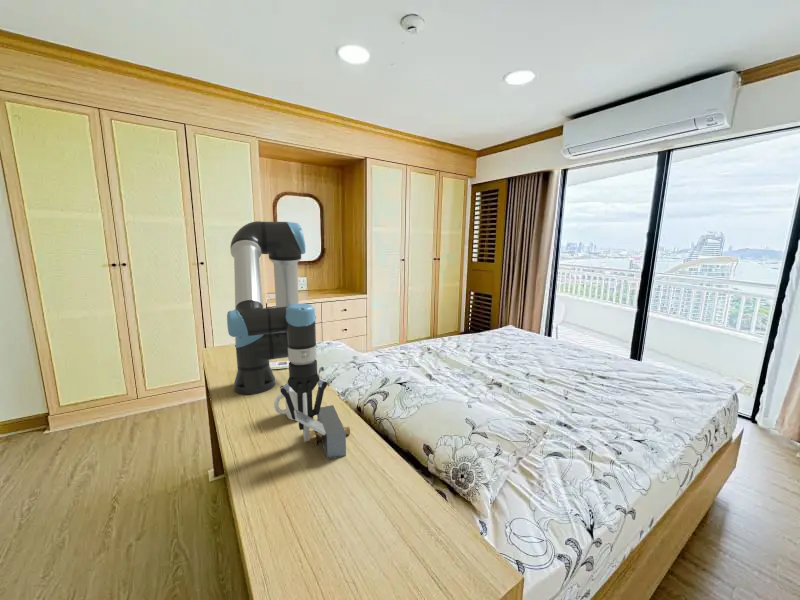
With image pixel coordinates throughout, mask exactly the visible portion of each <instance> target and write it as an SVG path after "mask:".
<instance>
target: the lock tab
mask: <svg viewBox="0 0 800 600" xmlns="http://www.w3.org/2000/svg"><path fill="white" fill-rule="evenodd" d="M294 414H295V419H296V420H295V421H296V422H298V423H299V422H300V423H302V424H304V425H305V426H307V427H309V429H311V430H315V431H316V433H321V434H323V435H325V433H326V432H325V429H324V427H323V424H322V423H320V422H319V421H317V420H316V419H315V418H314V417H313V418H311V417H309V416H307V415H306V414H304V413H302V412H300V411H298V410H296V409H295V410H294Z"/></svg>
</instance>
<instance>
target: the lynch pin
mask: <svg viewBox="0 0 800 600" xmlns="http://www.w3.org/2000/svg"><path fill="white" fill-rule="evenodd" d="M343 427H344V426H343ZM344 430H345V432H346V436H348V435H351V429H350V426H345V427H344ZM309 433H310V440H309V441H308V443H309V446H310V447H313V446H317V442H320V441H322V434H321V433H319V432H315V430H313V429H311V430H309Z"/></svg>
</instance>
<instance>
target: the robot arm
mask: <svg viewBox="0 0 800 600" xmlns="http://www.w3.org/2000/svg"><path fill="white" fill-rule="evenodd" d="M305 242H306V241H305V237H304V232H303V229H302V226H301V225H300V224H299V223H297V222H292V221H260V220H257V221H250V222H249V223H246V224H245V225H243V226H242V227H240V229H238V230H237V231H236V232H235V234H234V235H233V237H232V239H231V242H230V254H231V257H232V258H233V265H234V267H233V269H234V305H235V306H234V308H235V309H233V310H228V312H227V314H226V324H227V325H226V326H227V331H228V332H227V333H228V335H229V336H230V337H232V338H234V339H235V340H234V341H235V344H234V347H235V350H236V351H235V353H236V366H237V370H236V371H237V372H236V375H235V379H234V382H233V388H234V389H233V390H234V392H235V393H237V394H240V395H255V394H260V393H264V392H266V391H269V390H270V389H272V388H274V386H275V385H276V377H275V374H274V373H273V371H272V368H271V365H270V360H277V359H287V358H288V379H287V382H286V384H284V385H280V387H279V391H280V394H281V393H282V394H283V395H284V396H285V397H284V398H285V403H286V402H287V404H288V407H289V410H290V413H291V416H292V419H295V414H294V410H295V409H294V406H293V403H292V400H291V397H290V394H289V391H290V389H289V387H291V388H292V389H293V390H294V391H295V392H296V393H297V402H298V411H300V412H302V413H303V393H306V394H307V413H308V415H307V416H309V417H311V418H313V419H314V416H317V415H318V414H319V412H320V407H322V401H323V397H324V391H325V389H326V388H327V386H328V381H327V380H326V379H325V378H323V379H322V378H321V377H320V376H319V373H318V361H317V357H318V355H317V339H316V338H317V337H316V335H317V334H316V333H317V332H316V318H317V316H316V312H315V307H314V305H312V304H309V303H299V274H298V272H299V271H298V263H299V262H300V261H301V260H302V255H304V254H306V243H305ZM262 255H268V260H269V261H270V262H272V263H273V274H274V275H273V276H274V294H275V295H274V297H275V299H274V300H275V307H264V302H263V301H264V299H263V291H262V280H261V267H260V265H261V264H260V257H262ZM316 386H318V389H317V391H316V392H317V393H316V397H315V401H314V407H313V391H314V389H315V388H316ZM298 427H299V430H300V431H302V432H303V433H302V436H303V441H304V442H309V440H310V433H309V431H310V428H309V427H307V426H305V425H304V424H302V423H300V422H298Z"/></svg>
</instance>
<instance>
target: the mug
mask: <svg viewBox="0 0 800 600" xmlns="http://www.w3.org/2000/svg"><path fill="white" fill-rule="evenodd" d="M289 389H290V391H289V394H290V397H291V400H292V403H293V406H294V409H296V410H298V402H297V393H296V392H295V391H294V390H293V389H292V388H291V387H289ZM283 398H285V396H284V395H283V394H282V393H281V392H280V394H278V395H277V396H276V398H274V399H275V400H274V402H273V405H274V407H273V408H274V409H275V412H276V413H277V414H279V415H286V416H287V418H288V419H289V420H291V421H296V419H292V416H291V413H290V410H289V407H288V404H287V402H286V401H285V408H286V409H281V408H280V406H279V403H280V401H281V399H283ZM303 413H304V414H306V415H308V413H307V394H306V393H303Z"/></svg>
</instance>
